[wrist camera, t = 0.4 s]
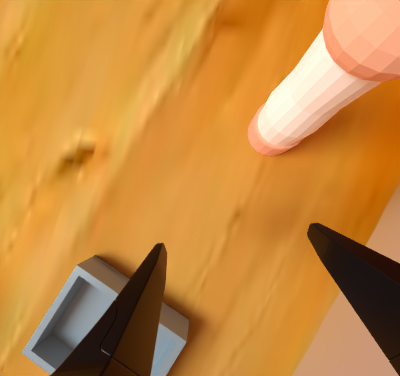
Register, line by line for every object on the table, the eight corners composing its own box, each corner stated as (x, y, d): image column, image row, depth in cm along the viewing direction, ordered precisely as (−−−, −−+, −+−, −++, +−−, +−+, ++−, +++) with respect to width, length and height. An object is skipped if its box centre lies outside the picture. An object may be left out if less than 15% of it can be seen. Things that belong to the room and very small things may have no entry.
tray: (189, 320, 24) (186, 341, 20) (140, 399, 23) (129, 435, 20) (95, 255, 25) (76, 265, 21) (47, 330, 25) (21, 352, 21)
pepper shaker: (300, 118, 24) (637, -160, 5) (286, 162, 24) (588, 36, 5) (255, 105, 25) (418, -195, 6) (241, 148, 25) (362, -15, 5)
